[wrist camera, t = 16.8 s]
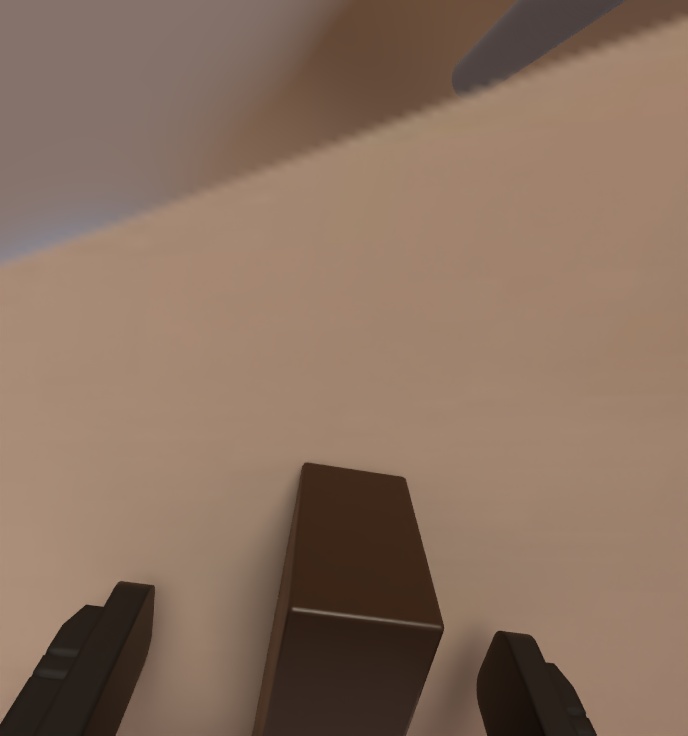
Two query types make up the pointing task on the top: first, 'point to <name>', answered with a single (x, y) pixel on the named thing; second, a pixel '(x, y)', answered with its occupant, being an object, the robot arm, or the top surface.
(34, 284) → the top surface
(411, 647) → the knife
